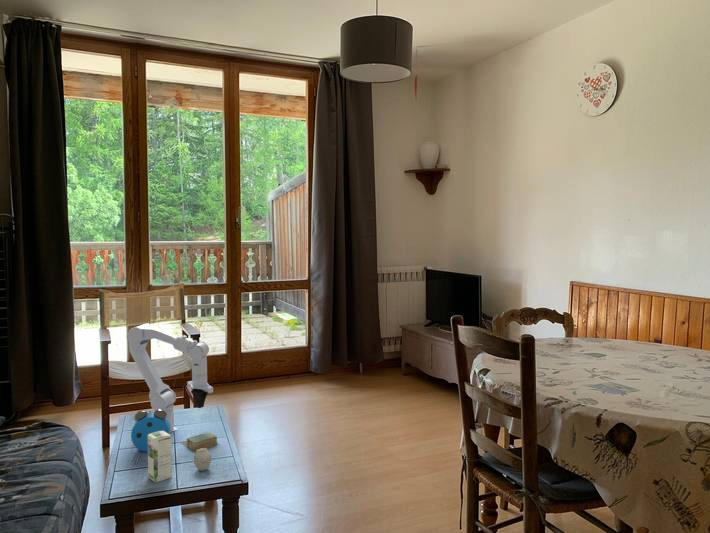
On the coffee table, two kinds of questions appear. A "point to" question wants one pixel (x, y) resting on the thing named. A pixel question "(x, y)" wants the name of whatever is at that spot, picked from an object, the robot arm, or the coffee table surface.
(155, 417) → the alarm clock
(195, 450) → the rubber mat
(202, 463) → the beige rounded lump
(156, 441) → the syrup box
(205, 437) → the oak slab
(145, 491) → the coffee table surface
